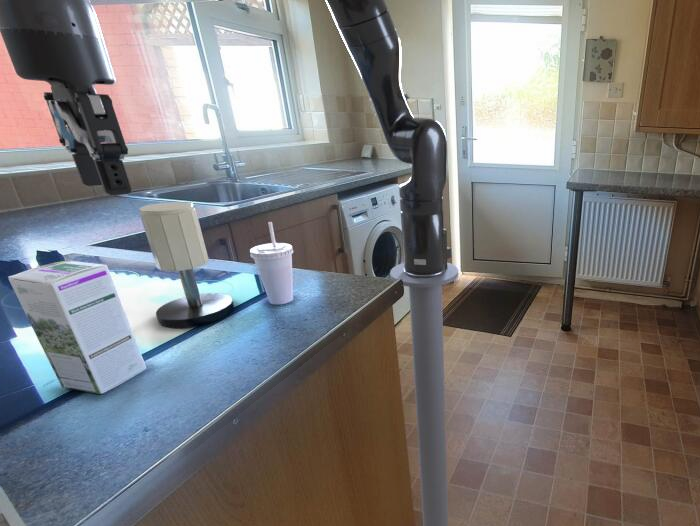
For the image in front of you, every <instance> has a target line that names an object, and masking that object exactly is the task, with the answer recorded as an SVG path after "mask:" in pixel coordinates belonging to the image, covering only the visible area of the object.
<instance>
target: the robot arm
mask: <svg viewBox="0 0 700 526" xmlns="http://www.w3.org/2000/svg"><path fill="white" fill-rule="evenodd" d="M325 2H326V5H327V7H328V9H329V11H330V13H331V16H332V19H333V21H334V23H335V25H336V28H337V29H338V31H339V34H340V36H341V38H342V40H343V42H344V44H345V46H346V49H347V51H348V52H349V54H350V56H351V59H352V60H353V63H354V65H355V67H356V69H357V71H358V73H359V75H360V78H361V81H362V82H363V85H364V87H365V89H366V91H367V93H368V95H369V98H370V100H371V103H372V105H373V108H374V111H375V113H376V115H377V118H378V121H379V124H380V127H381V130H382V132H383V135H384V138H385V141H386V143H387V146H388V148H389V150H390V152H391V153H392V155H393V156H394V157H395V158H396V159H397V160H398V161H400V162H401V163H405V164H409V165H411V176H410V178H409V179H408V180H406V181H403V182H401V183H400V184H399V187H398V194H399V208H400V209H399V210H400V222H401V240H402V241H401V242H402V254H403V263H404V273H405V274H406V275H408V276H411V277H416V278H430V277H436V276H439V275H441V274H443V273H444V272H445V270H446V269H447V262H448V260H449V259H451V258H452V248H451V247H449V246H448V232H447V229H445V228H444V227H445V225H444V189H445V186H446V182H447V166H448V165H447V164H448V162H447V161H448V158H447V157H448V142H447V135H446V132H445V129H444V128H443V126H442V124H441V123H440V122H439V121H438V120H436V119H433V118H427V117H426V118H425V117H414V116H413V114H412V112H411V110H410V108H409V105H408V103H407V100H406V97H405V95H404V92H403V89H402V88H403V87H402V82H401V74H402V73H401V72H402V71H401V70H402V46H401V39H400V36H399V33H398V30H397V27H396V25H395V21H394V19H393V17H392V14H391V11H390V9H389V6H388V4H387V1H386V0H325ZM0 35H1V38H2V41H3V44H4V45H5V48H6V50H7V53H8V56H9V58H10V61H11V64H12V66H13V69H14V71H15V74H16V75H17V76H18V77H19V78H21V79H23V80H26V81H36V82H38V81H39V82H46V83H47V84H49V85H50V90H51V92H48V91H44V92H43V99H44V100H45V101H46V102H45V103H46V105H47V107H48V110H49V113H50V115H51V118H52V122H53V124H54V127H55V129H56V133H57V135H58V138H59V139H58V141H59V143H60V144H61V145H62V147H65V150H66V151H67V152H68V153H69V154H71V156H72V159H73V162H74V164H75V168H76V170H77V173H78V175H79V179H80V181H81V183H82V184H83V185H84V186H87V187H93V186H102V189H103V192H104V193H105V194H107V195H110V196H119V195H128V194H130V193H132V187H131V184H130V181H129V177H128V174H127V171H126V168H125V164H124V163H123V160H124V159H125V156H127V155H128V154H129V153H128V152H129V149H128V147H127V144H126V142H125V138H124V136H123V132H122V130H121V127H120V124H119V120H118V117H117V114H116V112H115V111H116V110H115V108H114V105H113V100H112V98H111V97H110V95H109V94H103V93H102V94H101V93H98V92H97V89H95V85H105V86H106V85H107V86H111V85H114V84H115V83H116V76H115V72H114V70H113V67H112V64H111V60H110V57H109V53H108V50H107V46H106V43H105V39H104V37H103V34H102V30H101V27H100V23H99V19H98V17H97V14H96V11H95V9H94V7H93V4H92V2H91V0H0Z"/></svg>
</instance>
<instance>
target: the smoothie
mask: <svg viewBox="0 0 700 526" xmlns="http://www.w3.org/2000/svg"><path fill="white" fill-rule="evenodd" d="M267 224H268V229H269V235H270V239H271V242H270V243H263V244H259V245H255V246H253V247H252V248H250V249H249V253H250V254H249V257H250V258H251V259H253V260H254V264H255V267H256V269H257V272H258V275H259V278H260V280H261V283H262V286H263V288H264V290H265V294H266V296H267V299H268V302H269V304H270V305H276V306H277V305H278V306H279V305H285V304H288V303H291V302H293V300H294V283H293V282H294V281H293V255H292V254H294V249H293V245H291V244H289V243H285V242H277V240H276V236H275V231H274V225H273V222H272V221H268V222H267Z"/></svg>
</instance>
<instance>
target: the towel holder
mask: <svg viewBox="0 0 700 526" xmlns="http://www.w3.org/2000/svg"><path fill="white" fill-rule="evenodd" d="M177 273H178V276H179V279H180V282H181V283H180V284H181V286H182V289H183V293H184V296H183V297H180V298H177V299H173V300H171V301H169V302H166V303H164V304H162V306H160V307H159V308H158V309H157V310H156V312H155V316H156V319H157V322H158V324H159V325H160V326H162V327H164V328H169V329H188V328H189V329H190V328H196V327H201V326H205V325H209V324H212V323H215V322H218V321H220V320H223V319H224V318H226V317H228V316H229V315H231V314H232V313H233V312H234V310H235V304H234V300H233V298H232V297H231V296H230V295H229V294H225V293H218V292H217V293H216V292H209V293H200V291H199V287H198V284H197V279H196V276H195V273H194V269H188V270H182V271H177Z"/></svg>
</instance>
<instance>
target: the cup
mask: <svg viewBox="0 0 700 526" xmlns="http://www.w3.org/2000/svg"><path fill="white" fill-rule="evenodd" d="M139 216H140V220H141V223H142V225H143V229H144V232H145V236H146V239H147V242H148V244H149V245H148V246H149V248H150V251H151V254H152V257H153V260H154V264H155V267H156V269H158V270H160V271H161V272H178V271H182V270H188V269H193V270H194V269H196V268H200V267H202V266H206V265H207V264H208V262H210V259H209V256H208V255H209V254H208V252H207V248H206V244H205V240H204V237H203V233H202V229H201V225H200V220H199V217H198V213H197V210H196V207H195V206H194V204H193V203H191V202H183V201H172V202H171V201H170V202H169V201H168V202H158V203H151V204H147V205H142V206H140V207H139Z"/></svg>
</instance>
